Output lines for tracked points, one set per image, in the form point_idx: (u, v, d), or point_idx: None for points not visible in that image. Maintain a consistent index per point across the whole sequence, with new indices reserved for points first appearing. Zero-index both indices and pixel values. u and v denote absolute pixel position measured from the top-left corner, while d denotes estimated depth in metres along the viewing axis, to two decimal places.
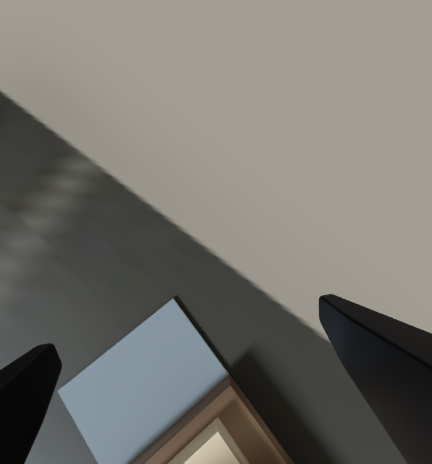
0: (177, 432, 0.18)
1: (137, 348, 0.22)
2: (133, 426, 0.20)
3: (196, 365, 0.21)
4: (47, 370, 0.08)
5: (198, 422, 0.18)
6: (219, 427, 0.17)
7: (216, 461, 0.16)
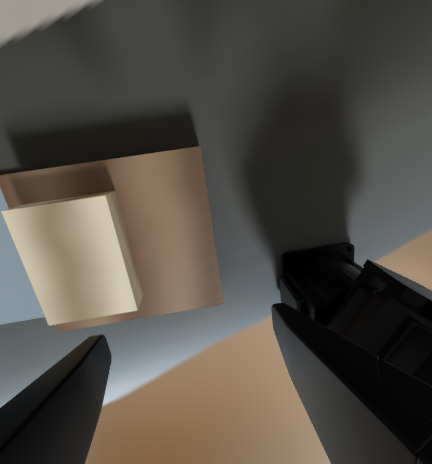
0: None
1: None
2: None
3: (0, 200, 0.18)
4: (101, 360, 0.08)
5: None
6: (14, 207, 0.15)
7: (29, 225, 0.15)
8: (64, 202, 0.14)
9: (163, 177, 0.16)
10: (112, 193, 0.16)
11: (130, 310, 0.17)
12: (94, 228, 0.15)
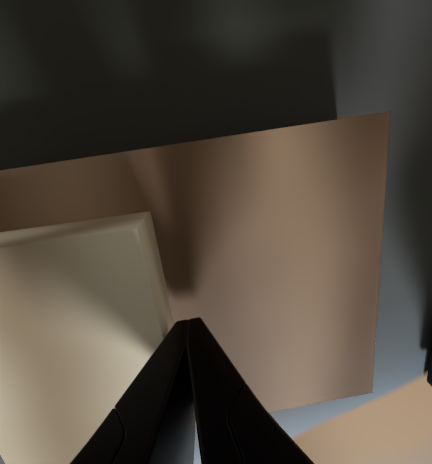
0: None
1: None
2: None
3: None
4: None
5: None
6: None
7: None
8: (41, 243, 0.06)
9: (308, 176, 0.08)
10: (146, 219, 0.07)
11: None
12: (109, 298, 0.07)
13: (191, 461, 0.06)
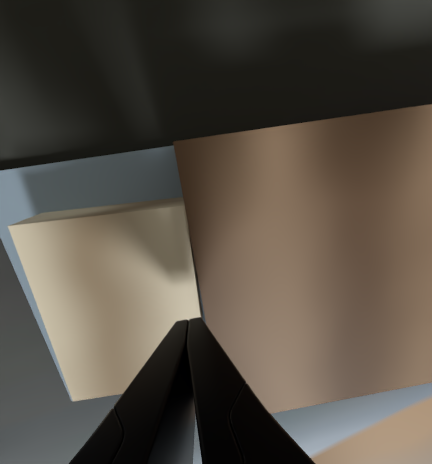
0: (199, 282, 0.09)
1: None
2: None
3: (131, 195, 0.10)
4: None
5: (203, 241, 0.08)
6: (29, 219, 0.09)
7: (54, 250, 0.09)
8: (116, 215, 0.09)
9: None
10: None
11: None
12: (160, 258, 0.09)
13: (190, 461, 0.06)
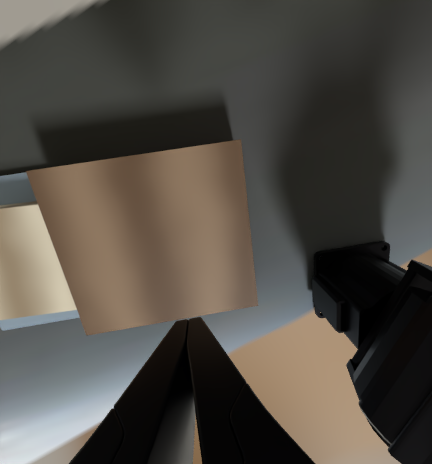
0: None
1: None
2: None
3: (25, 198, 0.18)
4: None
5: (51, 223, 0.16)
6: None
7: None
8: (5, 208, 0.16)
9: (201, 172, 0.16)
10: None
11: (70, 309, 0.18)
12: (34, 233, 0.16)
13: (190, 461, 0.06)
